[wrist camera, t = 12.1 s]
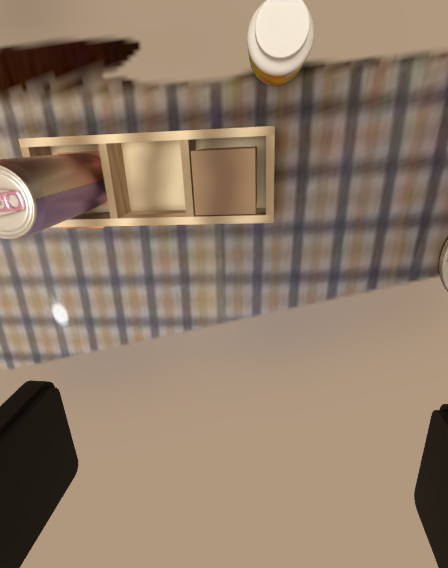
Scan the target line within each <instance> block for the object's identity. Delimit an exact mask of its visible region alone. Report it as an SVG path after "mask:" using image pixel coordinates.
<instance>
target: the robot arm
mask: <svg viewBox="0 0 448 568" xmlns="http://www.w3.org/2000/svg"><path fill="white" fill-rule="evenodd" d="M447 259H448V239H447V241H446V243H445V245H444V247H443V249H442V252H441V256H440V260H439V272H440V278H441V281H442V283H443V285H444V287H445V288H446V290H447V291H448V260H447ZM77 469H78V458H77V455H76V451H75V447H74V444H73V440H72V437H71V433H70V429H69V425H68V422H67V418H66V414H65V410H64V407H63V403H62V399H61V395H60V392H59V390H58V389H57V388H55V387H54V385H53V383H52V382H46V381H28V382H26V383H24V384H23V385H22V386H21V387H20V388H19V389H18V390H17V391H16V392H15V393H14V394H13V395H12V396H11V397H10V398H9V399H8V400H6V401H5V402H4V403H3V404H2V405H1V406H0V568H19V567H20V566H21V564H22V563H23V561H24V559H25V558H26V556H27V555H28V553H29V551H30V550H31V548H32V546H33V545H34V543H35V541H36V539H37V538H38V536H39V535H40V533H41V531H42V530H43V528H44V526H45V525H46V523H47V521H48V520H49V518H50V516H51V515H52V513H53V512H54V510H55V508H56V506H57V505H58V503H59V501H60V500H61V498H62V497H63V495H64V493H65V491H66V490H67V488H68V487H69V485H70V483H71V482H72V480H73V478H74V477H75V475H76V472H77ZM414 494H415V495H414V497H415V504H416V508H417V511H418V514H419V517H420V519H421V522H422V524H423V527H424V530H425V532H426V535H427V538H428V540H429V543H430V546H431V548H432V551H433V553H434V556H435V559H436V561H437V564H438V567H439V568H448V404H443V405H442V406H441V407H440V410H434V411H433V413H432V416H431V420H430V425H429V429H428V434H427V438H426V443H425V447H424V452H423V456H422V460H421V465H420V469H419V474H418V479H417V483H416V487H415V493H414Z"/></svg>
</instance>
